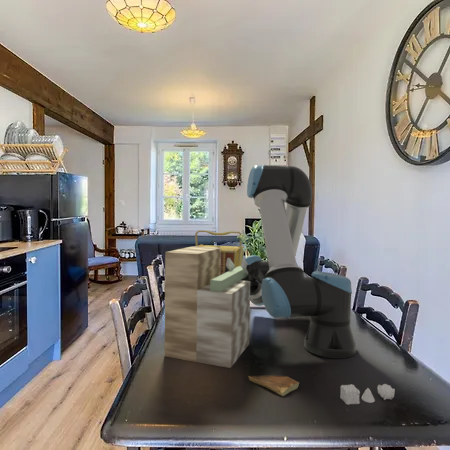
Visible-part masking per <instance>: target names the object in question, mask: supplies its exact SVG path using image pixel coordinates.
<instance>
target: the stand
mask: <svg viewBox="0 0 450 450" xmlns="http://www.w3.org/2000/svg"><path fill="white" fill-rule="evenodd" d="M164 253H165V257H164V258H165V259H164V261H165V263H164V266H165V267H164V270H165V272H164V274H165V275H164V276H165V277H164V357H167V358H172V359H176V360H177V359H178V360H182V361H189V362H193V363H194V362H195V363H199V364H206V365H211V366H217V367H223V368H228V369H231V368H232V367H233V365H234V364H235V363H236V362H237V360H238V359H239V358H240V356H241V355H242V354H243V352H244V351H245V350H246V349H247V347H248V346H249V345H250V320H251V319H250V315H251V314H250V313H251V312H250V311H251V309H250V307H251V306H250V305H251V301H250V281H241V280H240V281H238V282H236V283H235V284H233V285H232V286H230V287H228V288H227V289H225V290H223V291H222V292H217V291H210V280H211V279H213V278H215V277H218V276H220V273H221V248H214V247H196V245H195V246H189V247H188V246H187V247H183V248H177V249H174V250H170V251H165V252H164Z"/></svg>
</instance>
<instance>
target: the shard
mask: <svg viewBox="0 0 450 450" xmlns="http://www.w3.org/2000/svg"><path fill="white" fill-rule="evenodd" d="M247 377H248V380H249V381H250V382H252V383H254V384H257V385H260V386H262V387H265V388H266V389H268V390H270V391H272V392H274V393H276V394H277V395H279V396H281V397H284V396H286V395H287V394H289V393H290V392H293V391H294V390H297V389H298V388H299V384H300V382H299V381H297V380H295V379H293V378H291V377H289V376H287V375H270V374H269V375H265V374H263V375H247Z"/></svg>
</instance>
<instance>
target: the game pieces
mask: <svg viewBox="0 0 450 450" xmlns="http://www.w3.org/2000/svg"><path fill="white" fill-rule="evenodd" d="M339 388H340V392H339V393H340V396H339V398H340V399H341V400H342V401H343V402H344V403H345V404H346V405H347V406H348V405H359V404H360V403H361V402H360V394H361V392H360V389H358V388H356V386H355V385H354V384H341V386H340V387H339ZM395 391H396V390H395V388H392V386H391V385H389V384H387V383H383V384H378V385H377V393H378V395H380V397H381V398H382V399H383V400H384V401H386V400H392V399H393V398H394V397H395ZM361 400H362V401H364V402H365V403H369V404H370V403H371V404H372V403H374V402H375V401H376V399H375V397H374V395H373V394H372V391H371V389H370V388H369V387H367V388H366V389H365V390H364V392H363V394H362V395H361Z"/></svg>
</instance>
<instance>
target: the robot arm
mask: <svg viewBox="0 0 450 450" xmlns="http://www.w3.org/2000/svg"><path fill="white" fill-rule="evenodd" d="M246 193H247V194H246V195H247V197H248V198H250V199H253V202H254V205H255V206H256V207H258V208H259V212H260V219H261V224H262V230H263V231H262V232H263V236H264V243H265V250H266V256H267V260H265V261H263V259H262V258H261V256H259V255H255V254H254V255H249V256H247V257H245V258H243V259H242V264H241V267H242V269H243V270H244V272H245V273H246V274H248V276H246V277H245V278H243V279H241V281H250V303H252V304H253V305H254V306H258V307H260V306H264V307H265V310H266V312H267V313H268V314H269V316H271V317H273V318H276V319H277V318H280V319H281V318H283V319H288V318H302V317H303V318H305V317H308V318H309V317H310V323H309V325H308V328H307V331H306V334H305V336H304V343H303V344H304V348H305V349H306V351H308V352H309V353H311V354H313V355H316V356H320V357H324V358H327V359H330V358H331V359H347V358H350V357H353V356H354V355H355V354H356V352H357V345H356V342H355V337H354V333H353V330H352V327H351V315H352V313H351V309H352V294H353V291H352V282H351V280H350V278H348V277H347V276H344V275H341V274H338V273H337V274H336V273H332V272H325V271H318V270H317V271H312V272H311V277H310V276H307V277H306V276H305V274H304V269H303V268H302V267H300V266H299V265H298V263H297V258H296V256H297V251H298V246H299V243H300V238H301V235H302V231H303V226H304V222H305V217H306V213H307V211H308V210H307V209H308V208H310V206H311V203H312V200H313V188H312V184H311V181H310V179H309V177H308V175H307V174H306V173H305V172H304V171H303V169H301V168H299V167H297V166H292V165H265V164H261V165H260V164H259V165H258V164H257V165H254V166H252V167H251V169H250V171H249V175H248V180H247V186H246ZM285 204H286V206H285ZM234 268H235V265H234V263H233V262H232V261H231V259H230V258H227V263H226V267H225V272H224V273H226V272H228V271H230V270H232V269H234Z"/></svg>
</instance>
